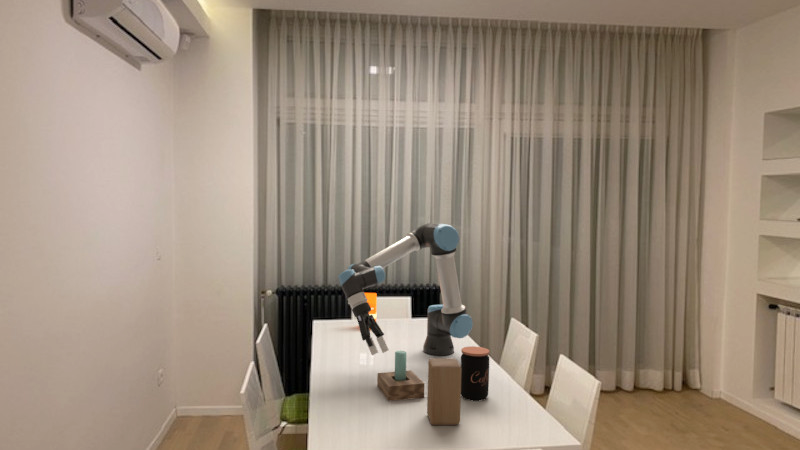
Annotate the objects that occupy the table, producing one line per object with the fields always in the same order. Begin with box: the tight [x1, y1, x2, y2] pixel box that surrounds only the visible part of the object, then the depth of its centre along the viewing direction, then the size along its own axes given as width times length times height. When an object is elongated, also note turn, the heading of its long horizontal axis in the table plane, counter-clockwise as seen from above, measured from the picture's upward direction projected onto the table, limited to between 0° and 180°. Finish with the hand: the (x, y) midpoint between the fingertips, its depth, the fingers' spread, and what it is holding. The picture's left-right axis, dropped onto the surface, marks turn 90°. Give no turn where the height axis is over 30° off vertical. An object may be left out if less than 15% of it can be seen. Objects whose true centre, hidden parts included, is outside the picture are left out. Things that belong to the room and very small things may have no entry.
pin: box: [394, 350, 407, 381], centre depth 216 cm, size 4×4×14 cm
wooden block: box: [426, 358, 462, 426], centre depth 189 cm, size 10×10×20 cm
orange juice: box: [364, 292, 378, 330], centre depth 323 cm, size 8×9×20 cm
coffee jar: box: [460, 346, 490, 402], centre depth 213 cm, size 11×11×18 cm
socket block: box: [376, 370, 425, 402], centre depth 216 cm, size 14×16×6 cm
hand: (380, 352), depth 227 cm, fingers open, 13 cm apart
